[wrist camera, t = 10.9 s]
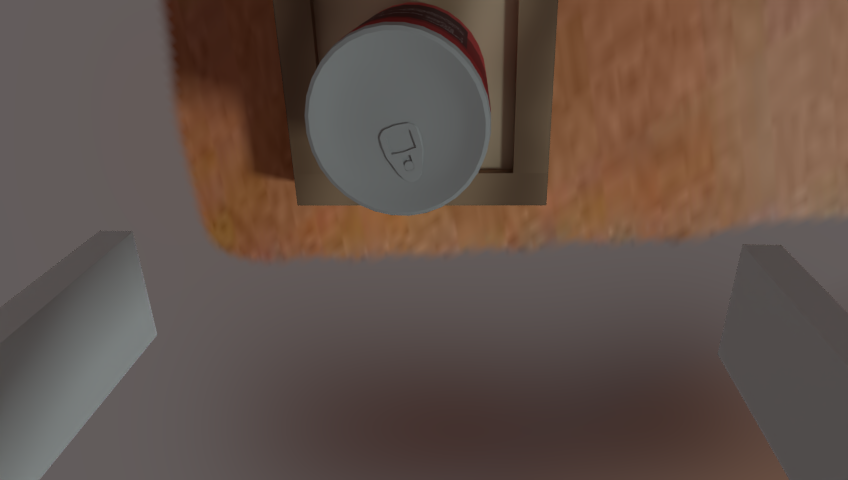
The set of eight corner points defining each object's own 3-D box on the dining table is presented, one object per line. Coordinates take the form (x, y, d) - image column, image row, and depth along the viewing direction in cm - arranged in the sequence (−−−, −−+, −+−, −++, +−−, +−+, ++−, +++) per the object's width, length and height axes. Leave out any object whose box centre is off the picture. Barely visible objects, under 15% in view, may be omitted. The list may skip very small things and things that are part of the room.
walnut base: (553, -76, 34) (562, -79, 31) (539, 183, 41) (546, 205, 37) (284, -67, 36) (264, -68, 32) (312, 184, 42) (297, 205, 38)
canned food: (400, 168, 38) (375, 247, 28) (321, 51, 35) (261, 93, 25) (513, 99, 36) (529, 159, 26) (437, -30, 33) (422, -19, 23)
